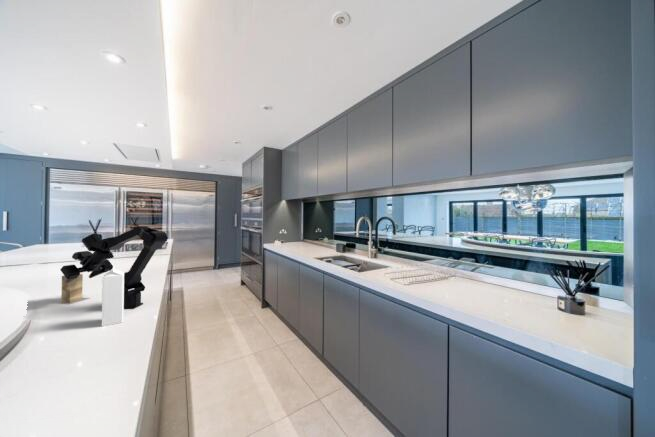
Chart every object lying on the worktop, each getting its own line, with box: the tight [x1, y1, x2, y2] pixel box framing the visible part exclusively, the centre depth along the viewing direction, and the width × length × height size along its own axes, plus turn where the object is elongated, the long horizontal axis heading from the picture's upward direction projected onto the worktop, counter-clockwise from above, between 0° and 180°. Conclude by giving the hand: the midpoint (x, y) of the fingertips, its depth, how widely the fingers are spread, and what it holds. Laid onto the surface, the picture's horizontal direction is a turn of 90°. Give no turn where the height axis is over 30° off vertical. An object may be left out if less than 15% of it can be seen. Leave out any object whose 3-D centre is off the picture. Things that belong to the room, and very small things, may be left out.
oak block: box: [60, 273, 84, 303], centre depth 116 cm, size 5×5×12 cm
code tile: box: [53, 297, 91, 306], centre depth 116 cm, size 10×9×1 cm
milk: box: [101, 265, 125, 327], centre depth 94 cm, size 6×6×22 cm
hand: (78, 279), depth 115 cm, fingers open, 9 cm apart
